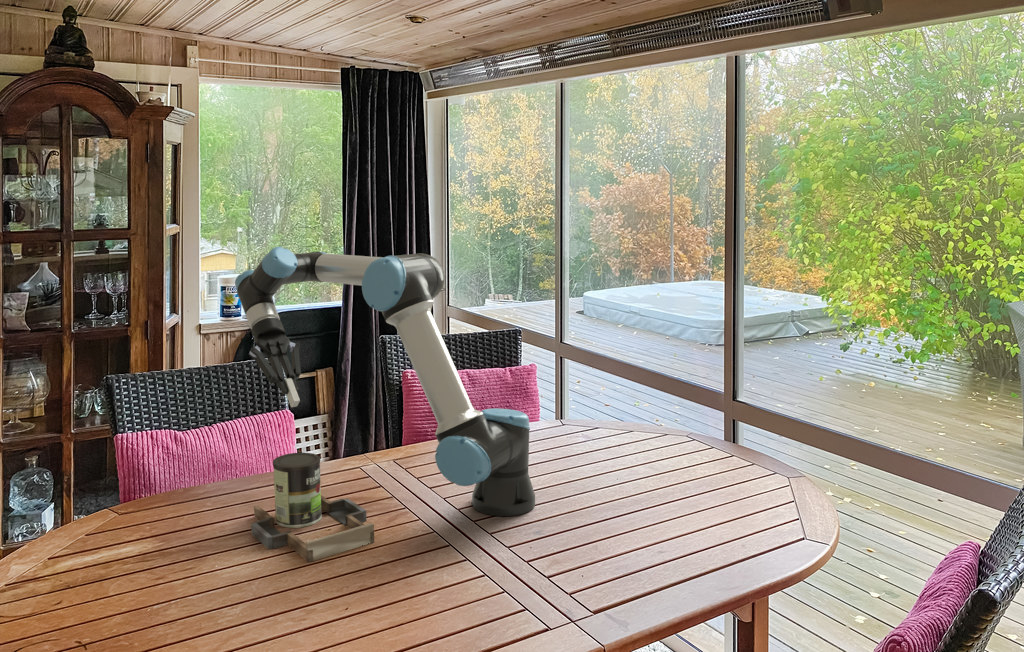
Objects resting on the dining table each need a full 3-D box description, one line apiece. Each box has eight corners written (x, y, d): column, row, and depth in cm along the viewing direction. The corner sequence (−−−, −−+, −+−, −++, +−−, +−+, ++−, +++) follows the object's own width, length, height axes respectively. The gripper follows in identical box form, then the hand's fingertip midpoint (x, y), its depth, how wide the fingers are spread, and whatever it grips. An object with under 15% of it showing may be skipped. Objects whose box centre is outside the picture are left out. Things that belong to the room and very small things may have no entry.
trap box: (237, 521, 175) (236, 504, 174) (330, 497, 189) (330, 481, 189) (289, 568, 154) (289, 549, 153) (390, 536, 168) (390, 519, 168)
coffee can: (329, 511, 181) (327, 453, 178) (309, 530, 171) (307, 469, 169) (288, 507, 183) (286, 450, 180) (266, 525, 173) (263, 465, 171)
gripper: (286, 331, 203) (316, 407, 193) (236, 336, 195) (265, 416, 185) (294, 313, 198) (325, 391, 188) (243, 318, 190) (273, 399, 180)
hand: (295, 403), depth 187 cm, fingers closed
